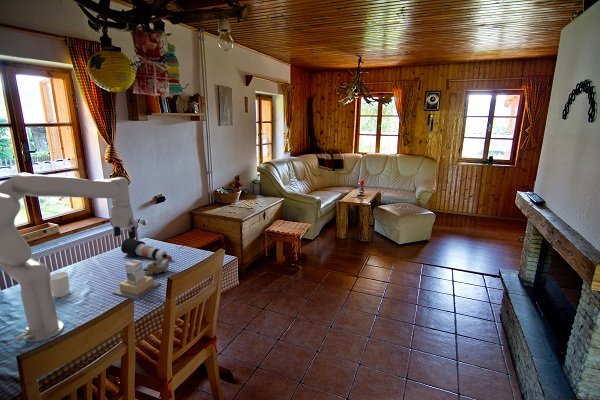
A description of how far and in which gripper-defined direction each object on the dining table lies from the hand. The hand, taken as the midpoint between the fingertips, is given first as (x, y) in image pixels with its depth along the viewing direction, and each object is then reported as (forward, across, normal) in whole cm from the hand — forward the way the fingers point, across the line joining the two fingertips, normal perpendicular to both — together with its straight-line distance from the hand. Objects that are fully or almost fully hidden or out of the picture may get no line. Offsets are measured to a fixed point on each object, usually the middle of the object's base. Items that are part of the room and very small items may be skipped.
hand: (125, 236), depth 159 cm
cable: (+29, -23, +35) cm, 51 cm away
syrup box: (+29, +1, +2) cm, 29 cm away
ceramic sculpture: (+30, -3, +20) cm, 36 cm away
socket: (+30, +1, +3) cm, 30 cm away
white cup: (+30, -31, -14) cm, 46 cm away
